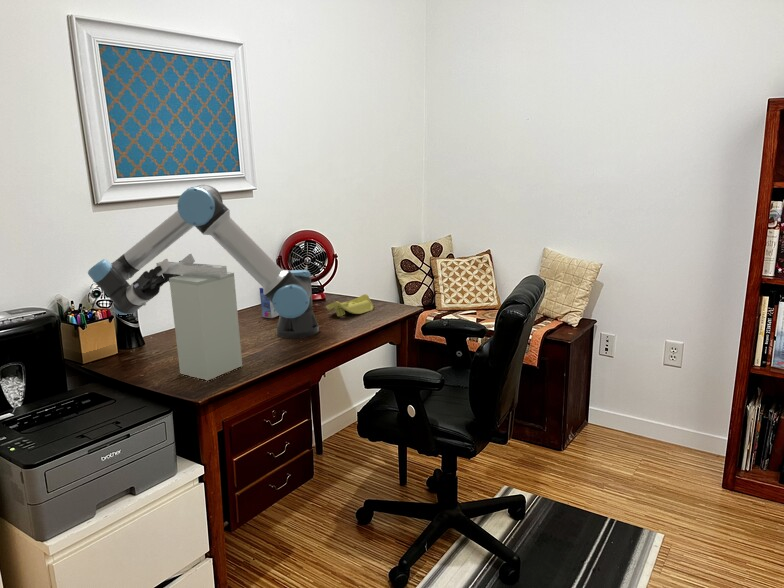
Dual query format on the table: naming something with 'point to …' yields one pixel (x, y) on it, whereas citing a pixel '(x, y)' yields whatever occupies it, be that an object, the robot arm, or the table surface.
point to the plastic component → (352, 306)
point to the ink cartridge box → (267, 306)
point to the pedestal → (206, 324)
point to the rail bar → (197, 269)
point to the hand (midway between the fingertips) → (180, 260)
